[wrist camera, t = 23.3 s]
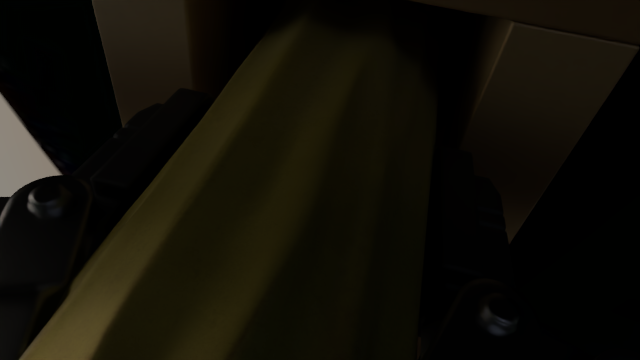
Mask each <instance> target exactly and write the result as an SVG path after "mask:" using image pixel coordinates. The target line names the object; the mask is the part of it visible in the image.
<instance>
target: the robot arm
mask: <svg viewBox="0 0 640 360" xmlns="http://www.w3.org/2000/svg"><path fill="white" fill-rule="evenodd" d="M214 102H215V100H214V97H213V95H212V94H208V93H204V92H199V91H195V90H190V89H186V88H180V89H178V90H177V91H176V92H175V93H174V94H173V95H172V96H171V97H170V98H169V99H168V100H167V101H166V102H165V103H164V104H160V103H156V104H154V105H152V106H150V107H147V108H145V109H143V110H141V111H139V112H137V113H136V114H135V115H134V116H133V117H132V118H131V119H130V120H129V121H128V122H127V123H126V124H125V126H124V127H121V128H120V129H119V130H118V131H117V132H116V133H115V134H114V137H113V138H110V139H109V140H108V141H107V142H106V143H105V144H104V145H102V146H101V147H100V148H99V149H98V150H97V151H96V152H95V153H94V154H93V155H92V156H91V157H90V158H89V159H88V160H87V161H86V162H85V163H84V164H82V165H81V166H80V167H79V168H78V169H77V170H76V171H75V172H74V173H73V174H72V175H71V176H68V175H58V176H50V177H45V178H42V179H39V180H36V181H33V182H31V183H29V184H27V185H25V186H24V187H22V188H20V189H19V190H18V191H17V192H15V193H14V194H13V195H12V196H11V197H0V360H19V359H20V358H21V356H22V355H23V354H24V352H25V351H26V350H27V348H28V347H29V346H30V345H31V343H32V342H33V341H34V339H35V338H36V337H37V336H38V334H39V333H40V332H41V330H42V329H43V328H44V327H45V325H46V324H47V323H48V321H49V320H50V319H51V318H52V315H53V313H54V311H55V309H56V307H57V305H58V304H59V302H60V300H61V298H62V296H63V294H64V292H65V290H66V288H67V287H68V285H69V283H70V282H71V280H72V278H73V277H74V276H75V275H76V274H77V272H78V271H79V270H80V269H81V267H82V266H83V265H84V264H85V263H86V261H87V260H88V259H89V258H90V257H91V255H92V254H93V253H94V252H95V250H96V249H97V248H98V247H99V245H100V244H101V243H102V242H103V240H104V239H105V238H106V237H107V235H108V234H109V233H110V232H111V231H112V229H113V228H114V227H115V226H116V224H117V223H118V222H119V221H120V220H121V218H122V217H123V216H124V215H125V213H126V212H127V211H128V210H129V208H130V207H131V206H132V205H133V204H134V203H135V201H136V200H137V199H138V198H139V197H140V195H141V194H142V193H143V192H144V191H145V189H146V188H147V187H148V186H149V185H150V183H151V182H152V181H153V180H154V178H155V177H156V176H157V175H158V173H159V172H160V171H161V170H162V168H163V167H164V166H165V164H166V163H167V162H168V161H169V159H170V158H171V157H172V156H173V154H174V153H175V152H176V151H177V149H178V148H179V147H180V146H181V144H182V143H183V142H184V141H185V139H186V138H187V137H188V136H189V134H190V133H191V132H192V131H193V129H194V128H195V127H196V126H197V124H198V123H199V122H200V121H201V119H202V118H203V117H204V115H205V114H206V113H207V111H208V110H209V108H210V107H211V106H212V104H213V103H214ZM503 214H504V212H503V206H502V200H501V195H500V194H499V192H498V191H497V189H496V188H495V186H494V185H493V183H492V182H491V181H490V179H489V178H485V177H481V176H477V175H474V167H473V157H472V153H471V152H468V151H464V150H459V149H455V148H450V147H446V146H441V145H439V146H438V147H437V149H436V151H435V153H434V159H433V167H432V177H431V187H430V196H429V206H428V216H427V227H426V239H425V250H424V262H423V273H422V285H421V298H420V311H419V323H418V337H421V353H420V356H419V358H418V359H417V360H640V354H639V353H636V352H633V351H630V350H627V349H621V348H613V349H609V350H606V351H604V352H602V353H601V354H600V355H598V356H597V357H594V356H593V355H591V354H589V353H587V352H585V351H583V350H581V349H580V348H578V347H576V346H574V345H572V344H570V343H569V342H567V341H565V340H563V339H561V338H559V337H557V336H556V335H554V334H552V333H551V332H549V331H548V330H547V329H545V328H544V327H543V326H541V324H540V320H539V318H538V315H537V313H536V311H535V310H534V308H533V306H532V305H531V304H530V303H529V301H528V300H527V299H526V298H525V297H524V296H523V295H522V294H520V293H519V292H518V291H517V289H516V284H515V278H514V272H513V266H512V260H511V254H510V248H509V242H508V236H507V232H506V231H505V229H506V224H505V218H504V217H503Z"/></svg>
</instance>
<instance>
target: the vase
mask: <svg viewBox="0 0 640 360" xmlns="http://www.w3.org/2000/svg"><path fill="white" fill-rule="evenodd" d="M444 71H445V49H444V42H443V37H442V33H441V30H440V27H439V25H438V22H437V20H436V18H435V16H434V14H433V13H432V11H431V9H430V8H429V7H428V5H427V4H424V3H419V2H414V1H408V0H280V2H279V3H278V5H277V6H276V8H275V9H274V11H273V13H272V15H271V17H270V18H269V20H268V23H267V25H266V28H265V30H264V31H263V33H262V35H261V37H260V38H259V40H258V42H257V43H256V45H255V46H254V48H253V49H252V51H251V52H250V54H249V55H248V56H247V58H246V59H245V60H244V62H243V63H242V64H241V65H240V67H239V68H238V69H237V71H236V72H235V74H234V75H233V76H232V78H231V79H230V80H229V82H228V83H227V85H226V86H225V87H224V89H223V90H222V92H221V93H220V95H219V96H218V98H217V99H216V100H215V102H214V103H213V104H212V106H211V107H210V108H209V110H208V111H207V113H206V114H205V115H204V117H203V118H202V119H201V121H200V122H199V123H198V124H197V126H196V127H195V128H194V129H193V131H192V132H191V133H190V134H189V136H188V137H187V138H186V139H185V141H184V142H183V143H182V144H181V146H180V147H179V148H178V149H177V151H176V152H175V153H174V154H173V156H172V157H171V158H170V159H169V161H168V162H167V163H166V164H165V166H164V167H163V168H162V170H161V171H160V172H159V173H158V175H157V176H156V177H155V178H154V180H153V181H152V182H151V183H150V185H149V186H148V187H147V188H146V189H145V191H144V192H143V193H142V194H141V195H140V197H139V198H138V199H137V200H136V201H135V203H134V204H133V205H132V206H131V207H130V208H129V210H128V211H127V212H126V213H125V215H124V216H123V217H122V218H121V220H120V221H119V222H118V223H117V224H116V226H115V227H114V228H113V229H112V231H111V232H110V233H109V234H108V235H107V237H106V238H105V239H104V240H103V242H102V243H101V244H100V245H99V247H98V248H97V249H96V250H95V252H94V253H93V254H92V255H91V257H90V258H89V259H88V260H87V261H86V263H85V264H84V265H83V266H82V267H81V269H80V270H79V271H78V272H77V274H76V275H75V276H74V277H73V278H72V280H71V282H70V283H69V285H68V287H67V288H66V290H65V292H64V294H63V296H62V298H61V300H60V302H59V304H58V305H57V307H56V309H55V311H54V313H53V315H52V318H51V319H50V320H49V321H48V323H47V324H46V325H45V327H44V328H43V329H42V330H41V332H40V333H39V334H38V336H37V337H36V338H35V339H34V341H33V342H32V343H31V345H30V346H29V347H28V348H27V350H26V351H25V352H24V354H23V355H22V356H21V358H20V359H19V360H417V341H418V323H419V311H420V298H421V285H422V273H423V262H424V250H425V239H426V227H427V216H428V206H429V196H430V187H431V177H432V167H433V159H434V151H435V142H436V123H437V110H438V98H439V87H440V85H441V82H442V79H443V76H444Z"/></svg>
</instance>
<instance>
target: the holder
mask: <svg viewBox="0 0 640 360" xmlns="http://www.w3.org/2000/svg"><path fill="white" fill-rule="evenodd" d="M408 1H414V2H419V3H424V4H429V5H434V6H439V7H444V8H450V9H455V10H460V11H465V12H470V13H474V15H473V18H472V21H471V24H470V26H469V29H468V32H467V35H466V37H465V40H464V43H463V46H462V48H461V51H460V54H459V57H458V59H457V62H456V65H455V68H454V70H453V73H452V76H451V79H450V81H449V84H448V87H447V90H446V92H445V95H444V98H443V101H442V103H441V106H440V109H439V112H438V114H437V123H436V142H435V151H436V149H437V147H438V146H439V145H441V146H446V147H450V148H455V149H459V150H464V151H468V152H471V153H472V157H473V167H474V175H477V176H481V177H485V178H489V179H490V181H491V182H492V183H493V185H494V186H495V188H496V189H497V191H498V192H499V194H500V195H501V200H502V206H503V212H504V214H503V217H504V218H505V224H506V229H505V231H506V232H507V236H508V242H509V244H510V242H511V241H512V239H513V238H514V236H515V235H516V233H517V232H518V230H519V229H520V227H521V226H522V224H523V223H524V221H525V220H526V218H527V217H528V215H529V214H530V212H531V211H532V209H533V208H534V206H535V205H536V203H537V202H538V200H539V199H540V197H541V196H542V194H543V193H544V191H545V190H546V188H547V187H548V185H549V184H550V182H551V181H552V179H553V178H554V176H555V175H556V173H557V172H558V170H559V169H560V167H561V166H562V164H563V163H564V161H565V160H566V158H567V157H568V155H569V154H570V152H571V151H572V149H573V148H574V146H575V145H576V143H577V142H578V140H579V139H580V137H581V136H582V134H583V133H584V131H585V130H586V128H587V127H588V125H589V124H590V122H591V121H592V119H593V118H594V116H595V115H596V113H597V112H598V110H599V109H600V107H601V106H602V104H603V103H604V101H605V100H606V98H607V97H608V95H609V94H610V92H611V91H612V89H613V88H614V86H615V85H616V83H617V82H618V80H619V79H620V77H621V76H622V74H623V73H624V71H625V70H626V68H627V67H628V65H629V64H630V62H631V61H632V59H633V58H634V56H635V55H636V53H637V52H638V50H639V46H638V44H640V0H408ZM92 3H93V7H94V11H95V16H96V20H97V24H98V28H99V32H100V36H101V40H102V44H103V48H104V52H105V56H106V60H107V64H108V68H109V72H110V76H111V80H112V84H113V88H114V92H115V97H116V101H117V105H118V109H119V113H120V117H121V121H122V125H123V127H124V126H125V124H126V123H127V122H128V121H129V120H130V119H131V118H132V117H133V116H134V115H135V114H136V113H137V112H139V111H141V110H143V109H145V108H147V107H150V106H152V105H154V104H156V103H160V104H164V103H165V102H166V101H167V100H168V99H169V98H170V97H171V96H172V95H173V94H174V93H175V92H176V91H177V90H178V89H180V88H186V89H190V90H195V91H199V92H204V93H208V94H212V95H213V97H214V100H216V99H217V98H218V96H219V95H220V93H221V92H222V90H223V89H224V87H225V86H226V85H227V83H228V82H229V80H230V79H231V78H232V76H233V75H234V74H235V72H236V71H237V69H238V68H239V67H240V65H241V64H242V63H243V62H244V60H245V59H246V58H247V56H248V55H249V54H250V52H251V0H92ZM435 151H434V153H435ZM420 353H421V337H418V341H417V359H418V358H419V356H420Z"/></svg>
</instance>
